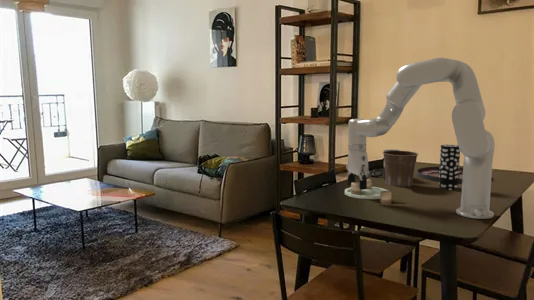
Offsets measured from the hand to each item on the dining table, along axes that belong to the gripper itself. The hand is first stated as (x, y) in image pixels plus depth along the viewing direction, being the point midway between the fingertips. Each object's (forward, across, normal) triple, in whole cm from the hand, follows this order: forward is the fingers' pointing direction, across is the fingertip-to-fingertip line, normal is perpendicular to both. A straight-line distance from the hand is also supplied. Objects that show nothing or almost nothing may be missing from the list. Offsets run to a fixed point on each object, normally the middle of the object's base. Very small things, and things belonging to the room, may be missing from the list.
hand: (357, 187), depth 187 cm
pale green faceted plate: (+4, 0, -5) cm, 7 cm away
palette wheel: (+5, +22, -70) cm, 74 cm away
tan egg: (+3, 0, 0) cm, 3 cm away
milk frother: (+5, +31, -36) cm, 48 cm away
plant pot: (+5, +12, -30) cm, 33 cm away
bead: (+3, +5, -8) cm, 10 cm away
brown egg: (+4, -14, -5) cm, 16 cm away
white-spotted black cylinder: (+5, 0, -49) cm, 49 cm away
